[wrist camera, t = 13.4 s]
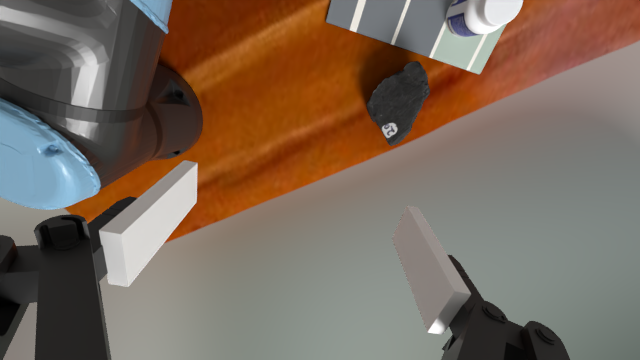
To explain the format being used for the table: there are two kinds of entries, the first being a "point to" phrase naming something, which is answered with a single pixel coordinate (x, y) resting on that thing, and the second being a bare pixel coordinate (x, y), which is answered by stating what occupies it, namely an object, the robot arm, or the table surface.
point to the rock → (399, 101)
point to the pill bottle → (480, 16)
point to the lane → (414, 29)
